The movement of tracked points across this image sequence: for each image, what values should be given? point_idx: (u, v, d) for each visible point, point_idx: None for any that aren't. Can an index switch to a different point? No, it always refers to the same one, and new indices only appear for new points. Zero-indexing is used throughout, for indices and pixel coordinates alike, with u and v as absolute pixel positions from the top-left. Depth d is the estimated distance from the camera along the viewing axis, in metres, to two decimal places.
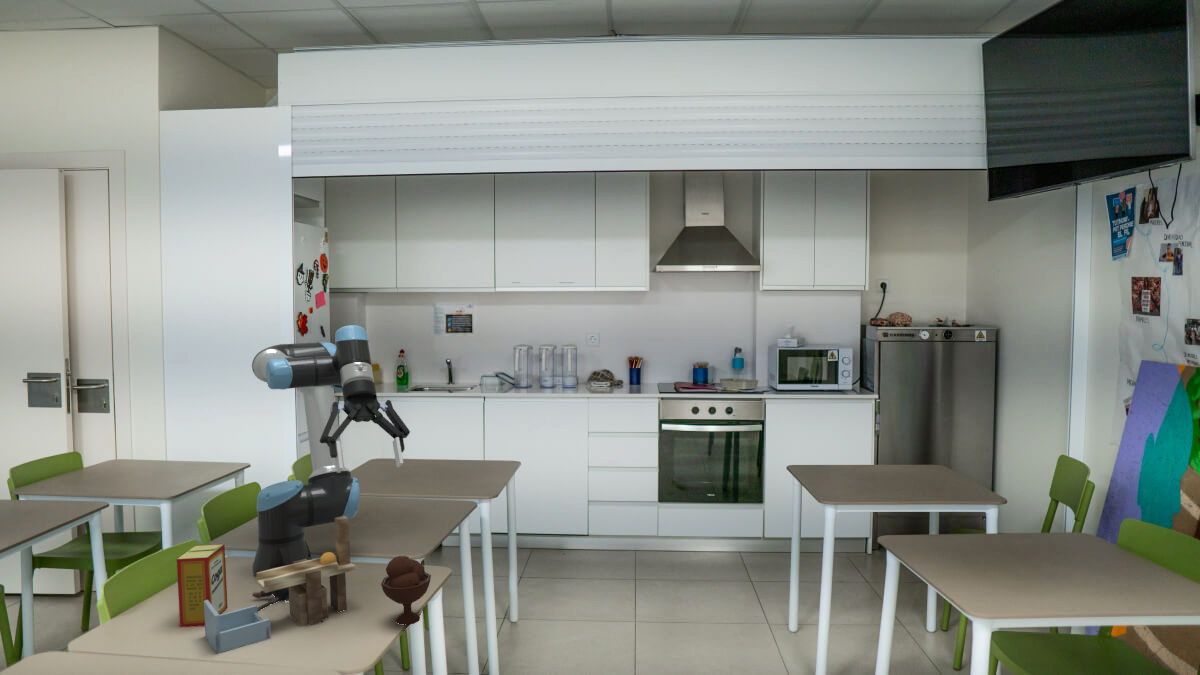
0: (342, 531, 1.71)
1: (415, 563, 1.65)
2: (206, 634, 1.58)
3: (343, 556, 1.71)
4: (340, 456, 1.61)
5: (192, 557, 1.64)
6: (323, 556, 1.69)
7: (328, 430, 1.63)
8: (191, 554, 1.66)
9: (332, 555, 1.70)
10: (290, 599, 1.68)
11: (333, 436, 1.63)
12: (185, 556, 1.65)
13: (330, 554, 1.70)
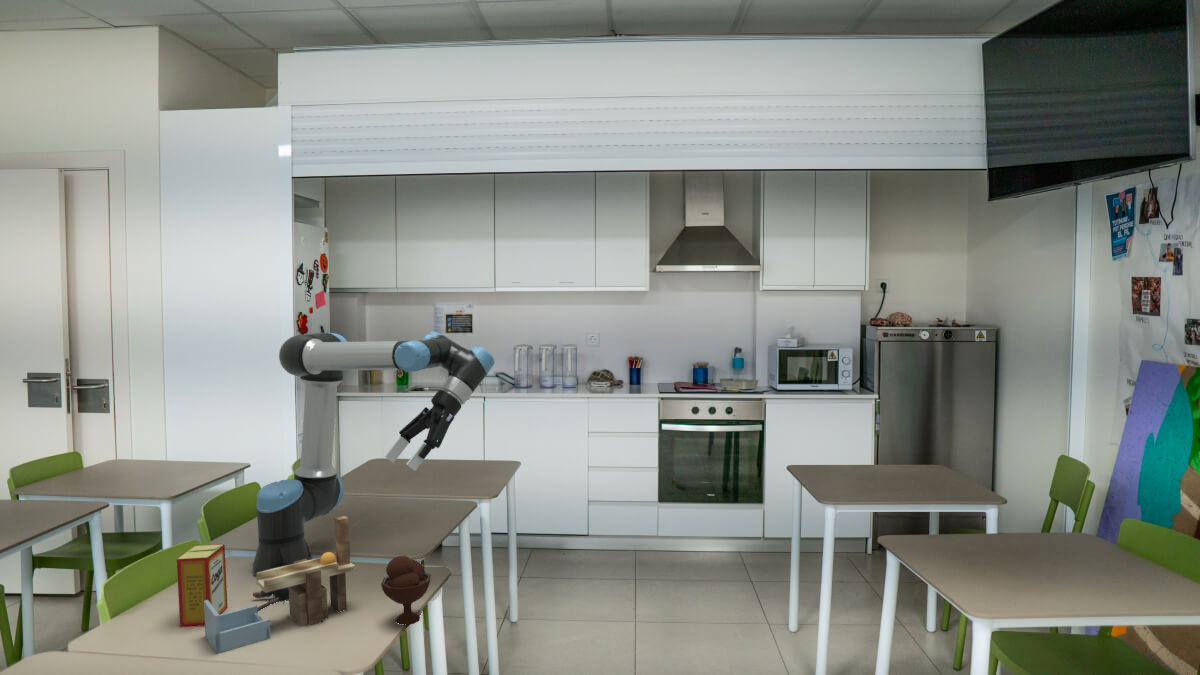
0: (342, 531, 1.71)
1: (415, 563, 1.65)
2: (206, 634, 1.58)
3: (343, 556, 1.71)
4: None
5: (192, 557, 1.64)
6: (323, 556, 1.69)
7: None
8: (191, 554, 1.66)
9: (332, 555, 1.70)
10: (290, 599, 1.68)
11: None
12: (185, 556, 1.65)
13: (330, 554, 1.70)
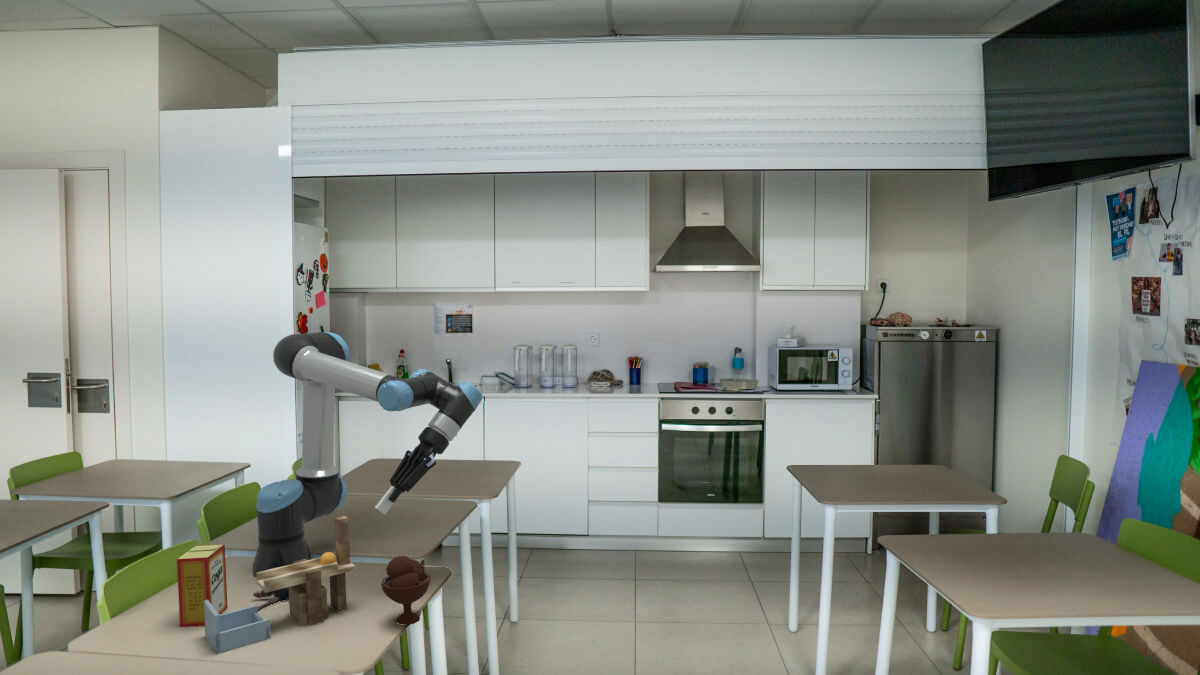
0: (342, 531, 1.71)
1: (415, 563, 1.65)
2: (206, 634, 1.58)
3: (343, 556, 1.71)
4: None
5: (192, 557, 1.64)
6: (323, 556, 1.69)
7: None
8: (191, 554, 1.66)
9: (332, 555, 1.70)
10: (290, 599, 1.68)
11: None
12: (185, 556, 1.65)
13: (330, 554, 1.70)
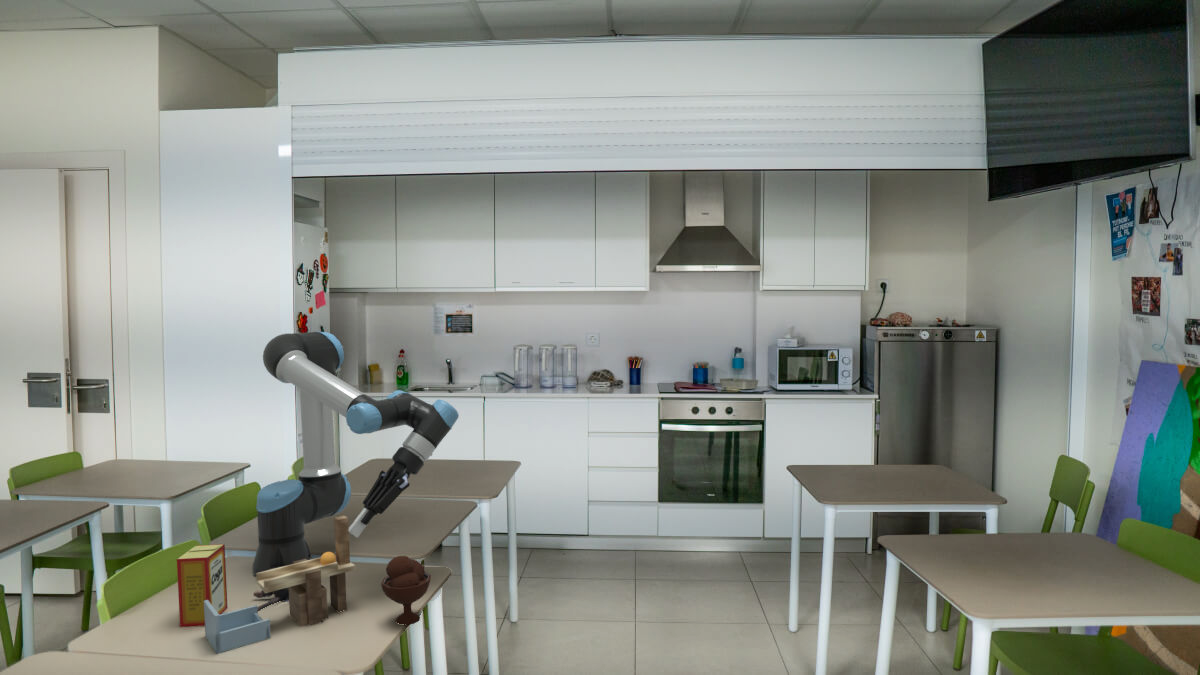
0: (341, 530, 1.71)
1: (415, 563, 1.65)
2: (206, 634, 1.58)
3: (342, 555, 1.71)
4: None
5: (192, 557, 1.64)
6: (323, 556, 1.69)
7: None
8: (191, 554, 1.66)
9: (332, 555, 1.70)
10: (290, 599, 1.68)
11: None
12: (185, 556, 1.65)
13: (330, 554, 1.70)
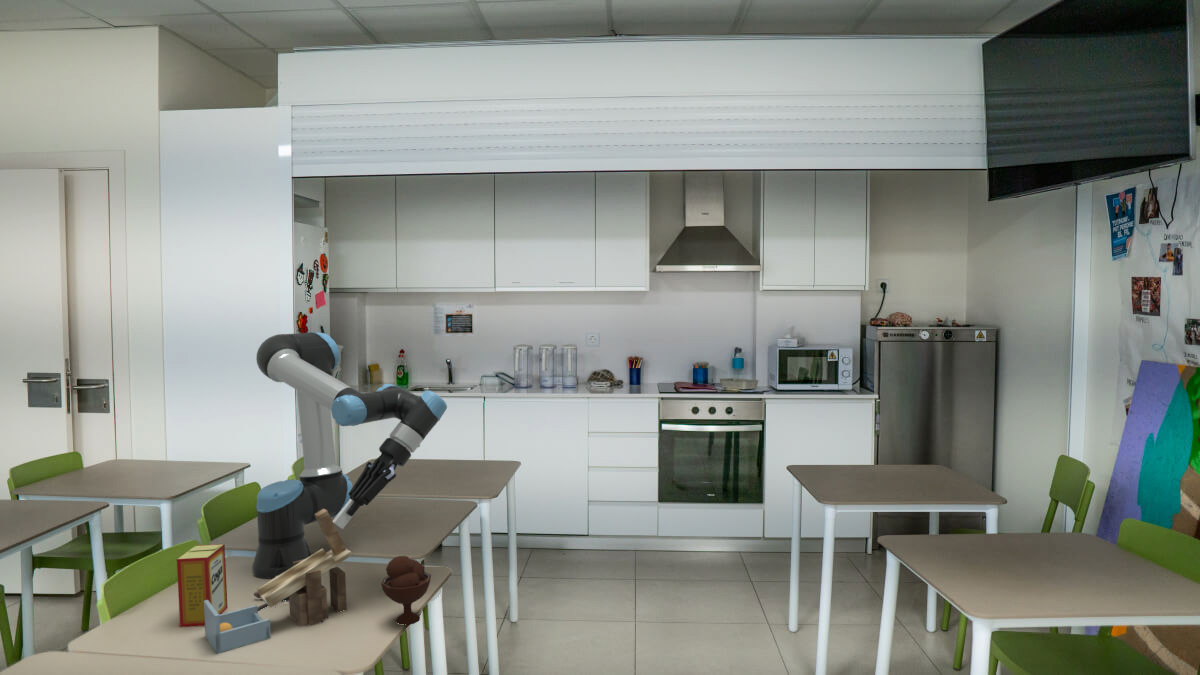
0: (326, 524, 1.69)
1: (415, 563, 1.65)
2: (206, 634, 1.58)
3: (336, 546, 1.70)
4: None
5: (192, 557, 1.64)
6: None
7: None
8: (191, 554, 1.66)
9: (221, 628, 1.55)
10: (290, 599, 1.68)
11: None
12: (185, 556, 1.65)
13: None
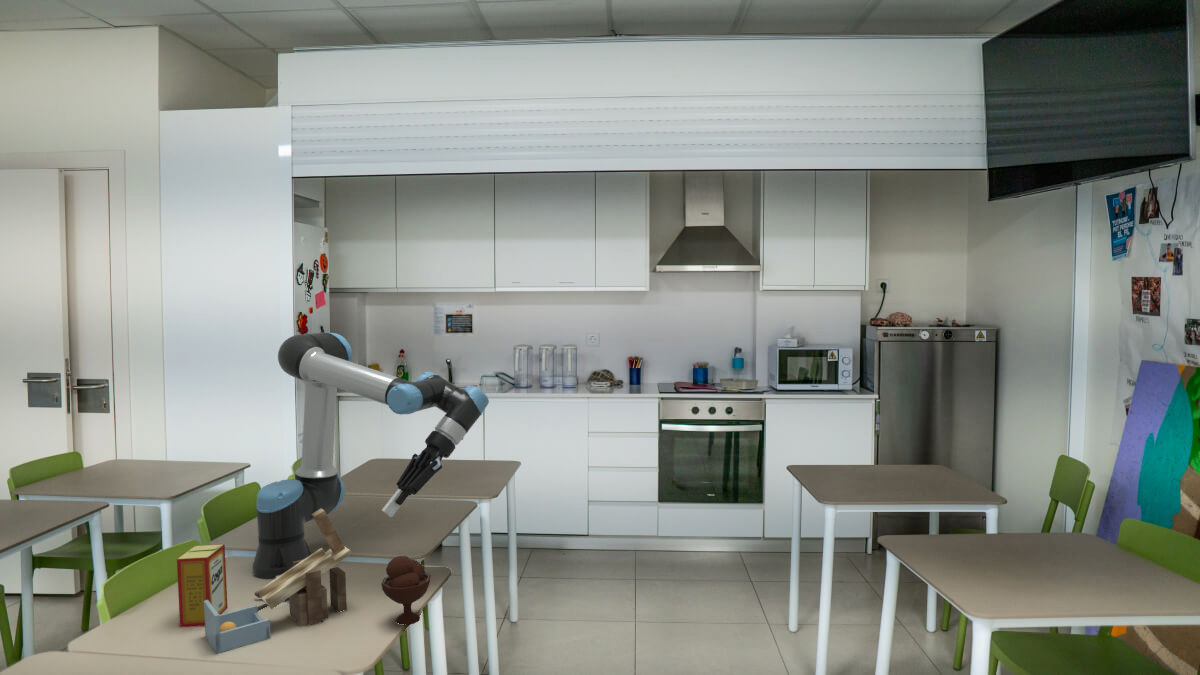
0: (323, 524, 1.68)
1: (415, 563, 1.65)
2: (206, 634, 1.58)
3: (335, 545, 1.70)
4: None
5: (192, 557, 1.64)
6: None
7: None
8: (191, 554, 1.66)
9: (228, 626, 1.56)
10: (290, 599, 1.68)
11: None
12: (185, 556, 1.65)
13: (225, 626, 1.56)
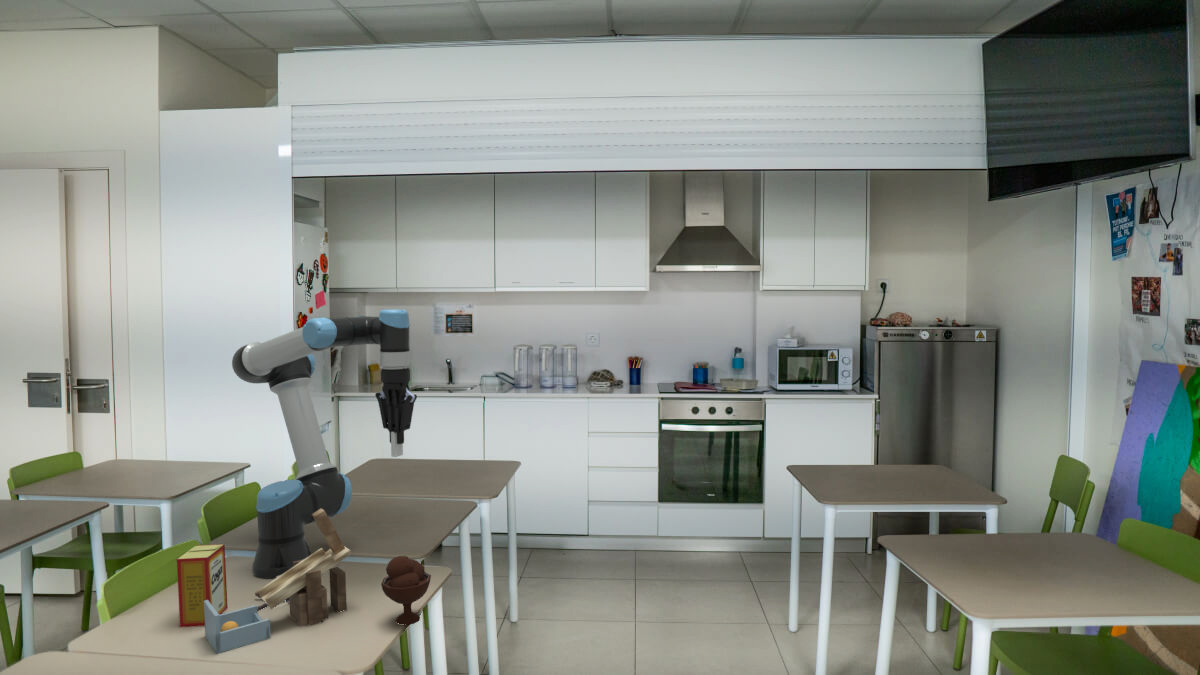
0: (323, 524, 1.68)
1: (415, 563, 1.65)
2: (206, 634, 1.58)
3: (335, 545, 1.70)
4: None
5: (192, 557, 1.64)
6: (222, 629, 1.56)
7: None
8: (191, 554, 1.66)
9: (231, 625, 1.56)
10: (290, 599, 1.68)
11: None
12: (185, 556, 1.65)
13: (229, 625, 1.56)
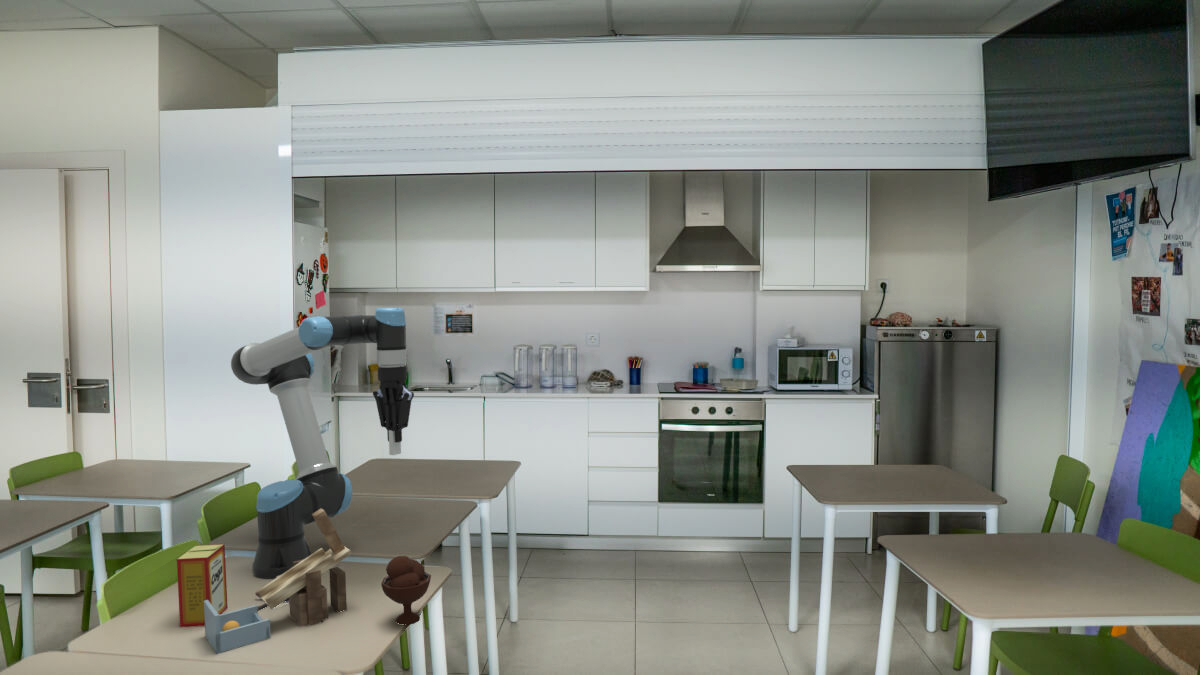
0: (323, 524, 1.68)
1: (415, 563, 1.65)
2: (206, 634, 1.58)
3: (335, 545, 1.70)
4: None
5: (192, 557, 1.64)
6: (224, 627, 1.56)
7: None
8: (191, 554, 1.66)
9: (234, 624, 1.56)
10: (290, 599, 1.68)
11: None
12: (185, 556, 1.65)
13: (231, 624, 1.56)
